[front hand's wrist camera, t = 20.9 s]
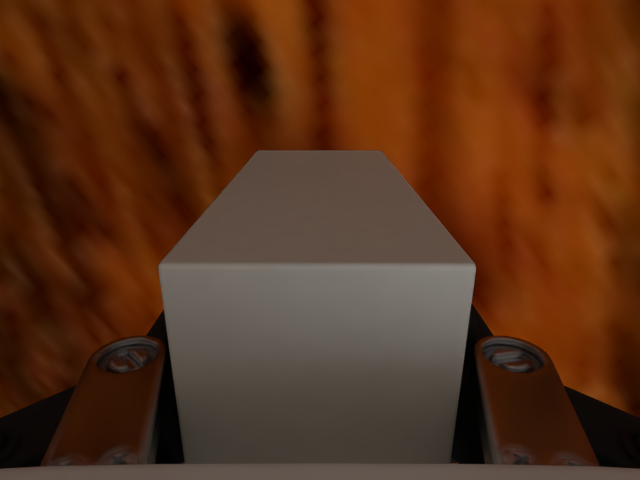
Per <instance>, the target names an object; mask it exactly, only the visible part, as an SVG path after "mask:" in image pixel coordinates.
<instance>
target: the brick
mask: <svg viewBox="0 0 640 480" xmlns="http://www.w3.org/2000/svg"><path fill="white" fill-rule="evenodd" d="M158 269H159V277H160V284H161V291H162V299H163V306H164V314H165V321H166V328H167V336H168V343H169V351H170V358H171V365H172V373H173V380H174V387H175V395H176V402H177V410H178V417H179V424H180V432H181V439H182V446H183V454H184V461H185V464H291V463H349V464H450V461H451V454H452V446H453V439H454V431H455V423H456V416H457V408H458V401H459V393H460V386H461V378H462V370H463V363H464V355H465V348H466V340H467V332H468V325H469V317H470V310H471V302H472V295H473V287H474V279H475V272H476V266H475V264H474V262H473V261H472V260H471V259H470V258H469V256H468V255H467V254H466V253H465V252H464V250H463V249H462V248H461V247H460V245H459V244H458V243H457V242H456V241H455V239H454V238H453V237H452V236H451V235H450V233H449V232H448V231H447V230H446V229H445V227H444V226H443V225H442V224H441V222H440V221H439V220H438V219H437V218H436V216H435V215H434V214H433V213H432V212H431V210H430V209H429V208H428V207H427V206H426V204H425V203H424V202H423V201H422V199H421V198H420V197H419V196H418V195H417V193H416V192H415V191H414V190H413V189H412V187H411V186H410V185H409V184H408V183H407V181H406V180H405V179H404V178H403V176H402V175H401V174H400V173H399V172H398V170H397V169H396V168H395V167H394V166H393V164H392V163H391V162H390V161H389V160H388V158H387V157H386V156H385V155H384V153H383V152H382V151H380V150H258V151H257V152H256V153H255V154H254V155H253V156H252V157H251V159H250V160H249V161H248V162H247V163H246V164H245V166H244V167H243V168H242V169H241V170H240V171H239V172H238V174H237V175H236V176H235V177H234V178H233V179H232V181H231V182H230V183H229V184H228V185H227V186H226V187H225V189H224V190H223V191H222V192H221V193H220V194H219V196H218V197H217V198H216V199H215V200H214V201H213V202H212V204H211V205H210V206H209V207H208V208H207V209H206V211H205V212H204V213H203V214H202V215H201V216H200V217H199V219H198V220H197V221H196V222H195V223H194V224H193V226H192V227H191V228H190V229H189V230H188V231H187V232H186V234H185V235H184V236H183V237H182V238H181V239H180V241H179V242H178V243H177V244H176V245H175V246H174V247H173V249H172V250H171V251H170V252H169V253H168V254H167V256H166V257H165V258H164V259H163V260H162V261H161V262H160V264H159V267H158Z"/></svg>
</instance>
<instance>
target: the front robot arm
mask: <svg viewBox="0 0 640 480" xmlns="http://www.w3.org/2000/svg"><path fill="white" fill-rule="evenodd" d="M182 463H185V461H184V454H183V446H182V439H181V432H180V424H179V417H178V410H177V402H176V395H175V387H174V380H173V373H172V365H171V358H170V351H169V343H168V336H167V328H166V321H165V314H164V310H163V312H162V313H161V314H160V316H159V317H158V319H157V320H156V322H155V323H154V325H153V326H152V328H151V329H150V331H149V332H148V334H147V335H146V336H131V337H125V338H121V339H118V340H115V341H112V342H110V343H108V344H106V345H104V346H102V347H100V348H99V349H98V350H97V351H95V352H94V353H93V354H92V356H91V357H90V358H89V360H88V362H87V364H86V366H85V368H84V370H83V373H82V375H81V377H80V379H79V381H78V384H77V385H76V386H74V387H72V388H69V389H67V390H65V391H62V392H60V393H58V394H55V395H53V396H51V397H48V398H46V399H44V400H41V401H39V402H37V403H34V404H32V405H30V406H27V407H25V408H23V409H20V410H18V411H16V412H13V413H11V414H9V415H6V416H4V417H2V418H0V480H640V418H638V417H636V416H633V415H631V414H629V413H626V412H624V411H622V410H619V409H617V408H615V407H612V406H610V405H608V404H605V403H603V402H601V401H598V400H596V399H594V398H592V397H589V396H587V395H585V394H582V393H580V392H578V391H575V390H573V389H571V388H568V387H566V386H564V385H563V384H562V381H561V379H560V377H559V375H558V373H557V370H556V368H555V366H554V364H553V362H552V360H551V358H550V357H549V356H548V354H547V353H546V352H545V351H543V350H542V349H541V348H540V347H538V346H536V345H534V344H532V343H530V342H528V341H525V340H522V339H519V338H515V337H509V336H493V334H492V333H491V331H490V330H489V328H488V327H487V325H486V324H485V322H484V321H483V319H482V318H481V316H480V315H479V313H478V312H477V310H476V309H475V307H474V306H473V304H472V303H471V310H470V317H469V325H468V332H467V340H466V348H465V355H464V363H463V370H462V378H461V386H460V393H459V401H458V408H457V416H456V423H455V431H454V439H453V446H452V454H451V461H450V463H458V464H349V463H291V464H182Z"/></svg>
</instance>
